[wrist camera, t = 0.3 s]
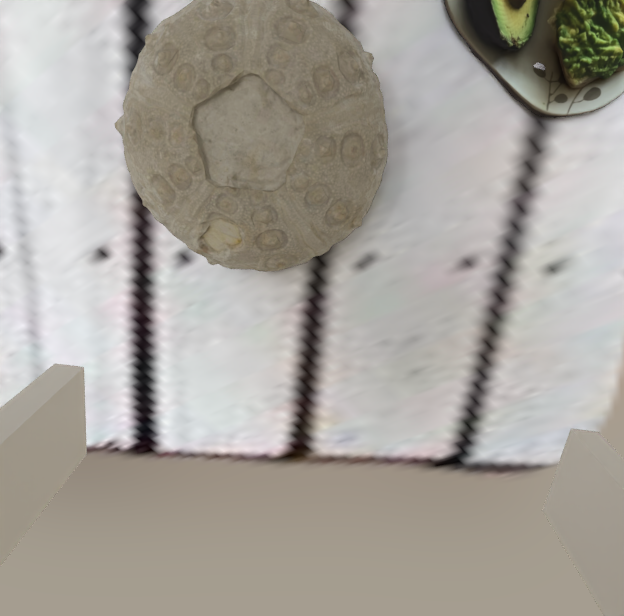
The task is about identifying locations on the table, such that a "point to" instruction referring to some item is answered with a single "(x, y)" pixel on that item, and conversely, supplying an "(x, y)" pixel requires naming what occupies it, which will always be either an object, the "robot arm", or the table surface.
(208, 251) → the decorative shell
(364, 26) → the table surface
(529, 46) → the salad plate
